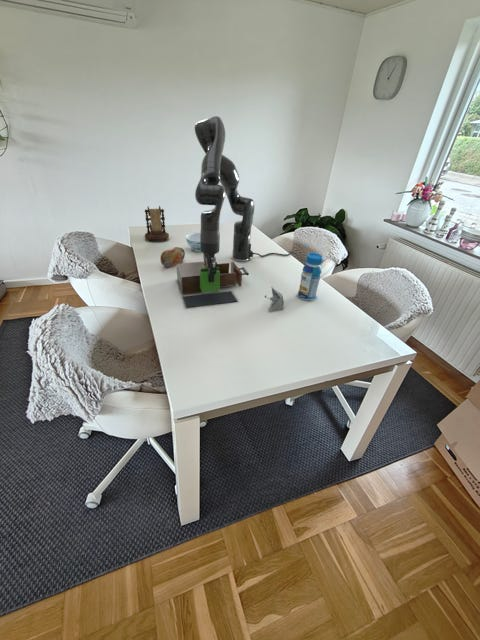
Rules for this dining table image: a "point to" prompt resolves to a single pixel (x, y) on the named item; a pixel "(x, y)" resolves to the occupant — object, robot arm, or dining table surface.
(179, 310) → the dining table surface
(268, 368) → the dining table surface
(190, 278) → the cabinet
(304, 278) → the beverage bottle
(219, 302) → the placemat
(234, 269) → the drawer
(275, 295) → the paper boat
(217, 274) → the green ridged box
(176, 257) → the tin
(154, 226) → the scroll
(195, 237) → the chinaware
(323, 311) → the dining table surface
